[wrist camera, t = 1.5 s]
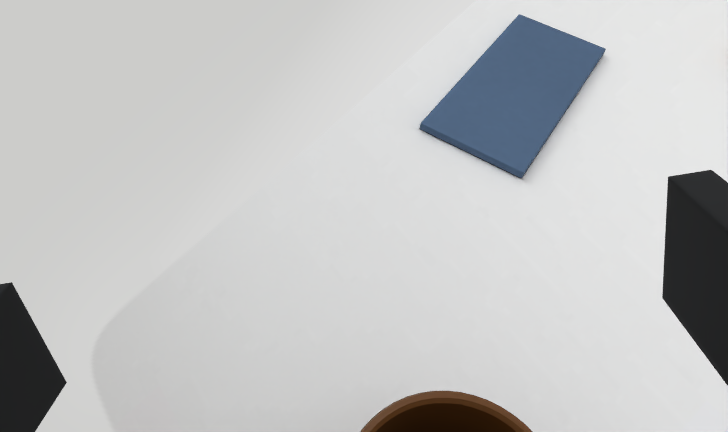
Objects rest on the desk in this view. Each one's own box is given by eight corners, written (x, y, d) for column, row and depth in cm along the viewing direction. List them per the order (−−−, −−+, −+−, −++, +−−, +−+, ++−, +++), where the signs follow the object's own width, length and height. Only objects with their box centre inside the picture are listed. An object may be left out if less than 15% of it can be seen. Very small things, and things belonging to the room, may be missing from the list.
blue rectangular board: (419, 129, 43) (420, 122, 42) (517, 19, 53) (519, 13, 52) (521, 178, 40) (523, 172, 40) (603, 54, 51) (606, 48, 50)
